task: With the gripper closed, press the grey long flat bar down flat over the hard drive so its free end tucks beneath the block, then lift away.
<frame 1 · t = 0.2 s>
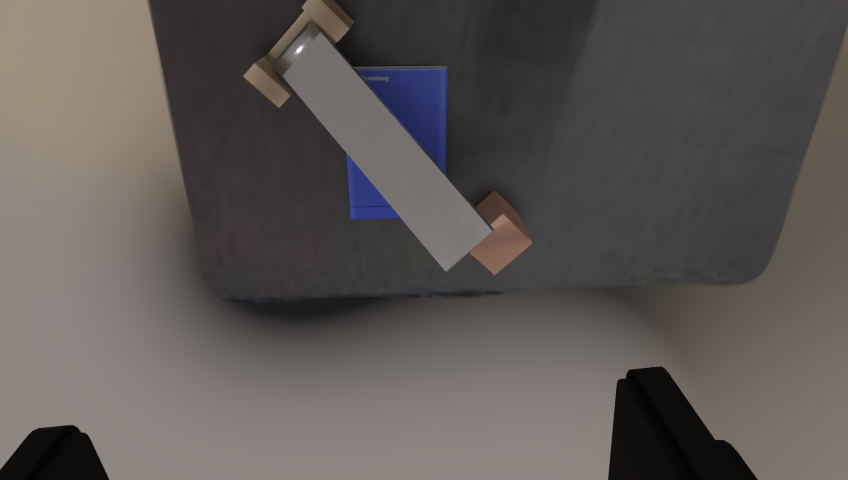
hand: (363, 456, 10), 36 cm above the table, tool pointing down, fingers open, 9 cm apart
block: (488, 216, 48), on the table
pivot bracket: (307, 42, 41), on the table
grey long flat bar: (378, 143, 36), point 8 cm above the table, hinge at 30.0°
hard drive: (396, 142, 45), on the table
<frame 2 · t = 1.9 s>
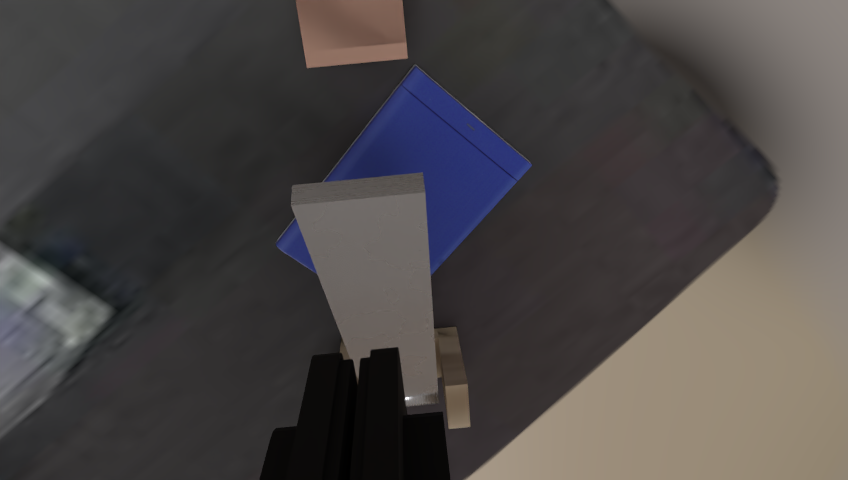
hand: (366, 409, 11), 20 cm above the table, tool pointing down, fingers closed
block: (358, 2, 26), on the table
pivot bracket: (401, 352, 35), on the table
grey long flat bar: (388, 326, 24), point 8 cm above the table, hinge at 30.0°
hard drive: (401, 196, 31), on the table
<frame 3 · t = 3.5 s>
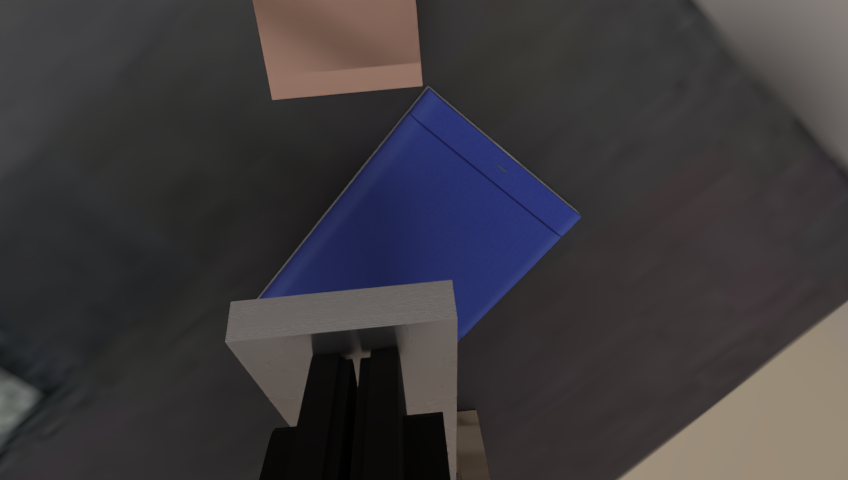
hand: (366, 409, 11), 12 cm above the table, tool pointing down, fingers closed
block: (351, 1, 19), on the table
pivot bracket: (407, 439, 28), on the table
grey long flat bar: (391, 454, 17), point 8 cm above the table, hinge at 28.6°, touching gripper
hard drive: (408, 253, 24), on the table
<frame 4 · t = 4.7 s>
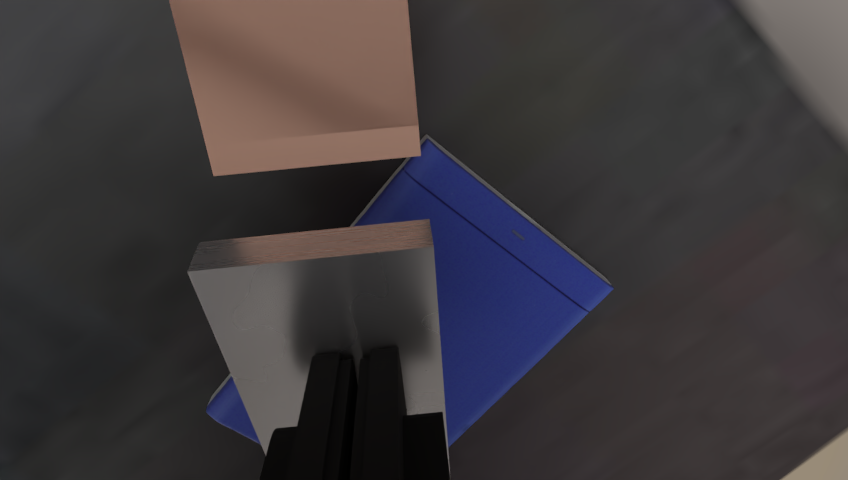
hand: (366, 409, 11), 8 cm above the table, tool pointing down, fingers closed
block: (330, 31, 15), on the table
hard drive: (403, 327, 20), on the table
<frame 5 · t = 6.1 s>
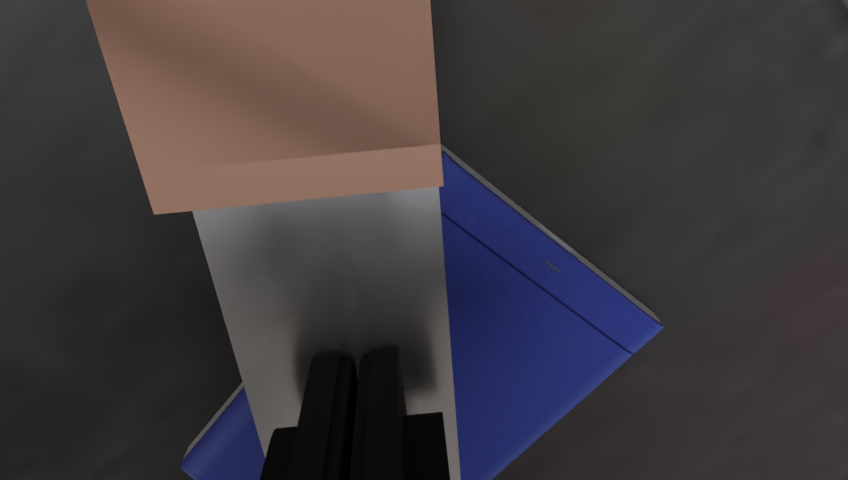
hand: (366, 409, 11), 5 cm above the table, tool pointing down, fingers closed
block: (323, 15, 12), on the table
hard drive: (411, 366, 17), on the table
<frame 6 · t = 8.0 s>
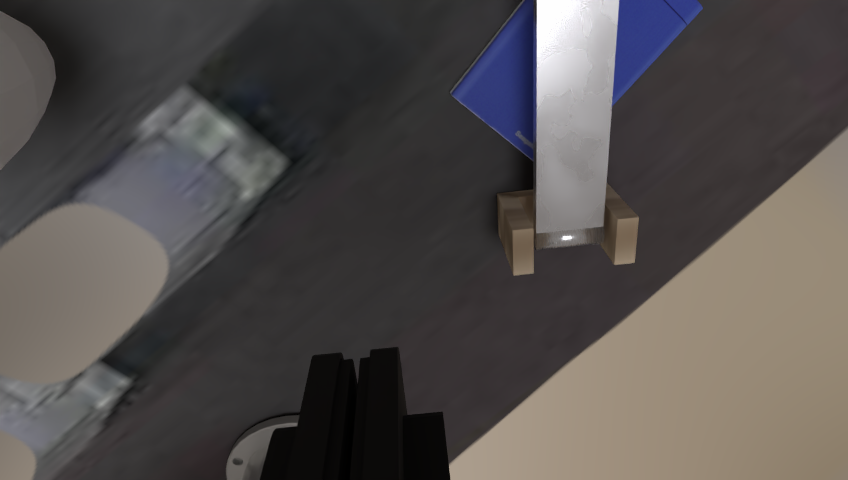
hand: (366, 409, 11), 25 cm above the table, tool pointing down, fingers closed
cup: (43, 52, 31), on the table
pivot bracket: (551, 208, 37), on the table
grey long flat bar: (572, 91, 29), point 4 cm above the table, hinge at 1.1°
hard drive: (566, 49, 33), on the table
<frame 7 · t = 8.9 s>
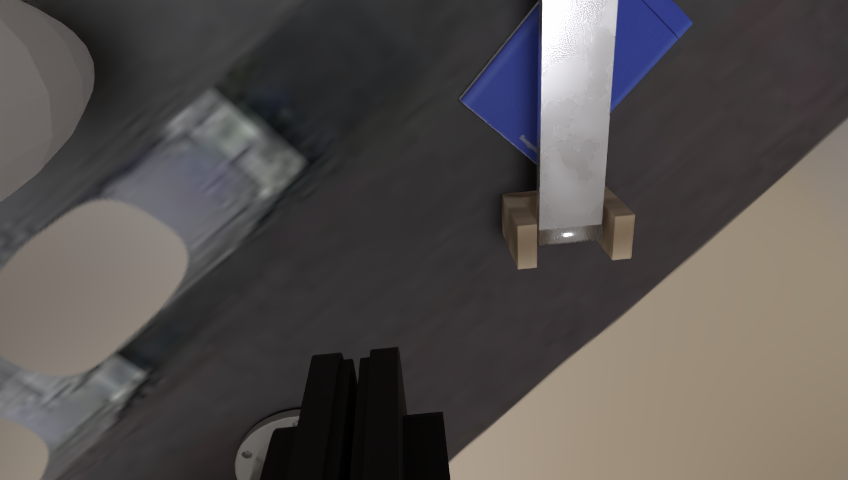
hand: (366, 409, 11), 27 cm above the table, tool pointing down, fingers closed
cup: (80, 55, 33), on the table
pivot bracket: (552, 208, 39), on the table
grey long flat bar: (574, 97, 31), point 4 cm above the table, hinge at 1.1°
hard drive: (567, 59, 35), on the table
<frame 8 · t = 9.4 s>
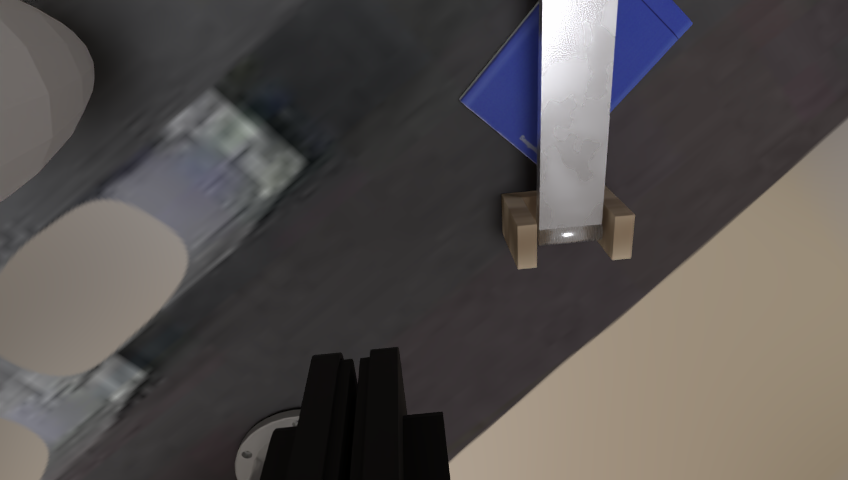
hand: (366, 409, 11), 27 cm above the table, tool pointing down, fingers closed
cup: (80, 55, 33), on the table
pivot bracket: (552, 208, 39), on the table
grey long flat bar: (574, 97, 31), point 4 cm above the table, hinge at 1.1°
hard drive: (567, 60, 35), on the table
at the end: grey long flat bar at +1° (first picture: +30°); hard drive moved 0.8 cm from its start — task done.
